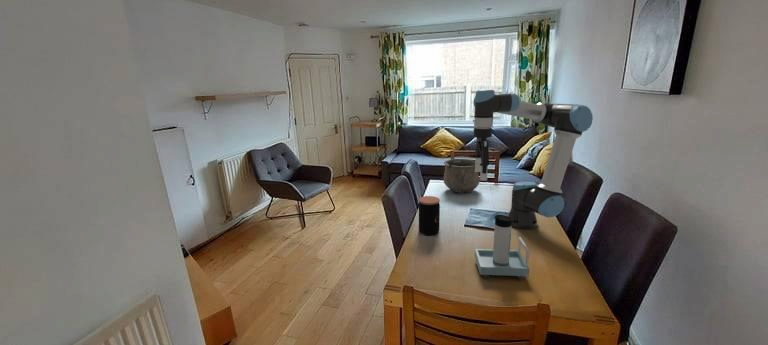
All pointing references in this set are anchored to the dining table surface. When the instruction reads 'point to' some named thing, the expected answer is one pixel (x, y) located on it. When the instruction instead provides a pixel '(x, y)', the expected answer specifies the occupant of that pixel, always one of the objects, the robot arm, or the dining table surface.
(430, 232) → the coffee jar
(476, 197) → the dining table surface
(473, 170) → the pot
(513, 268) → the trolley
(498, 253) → the travel mug
